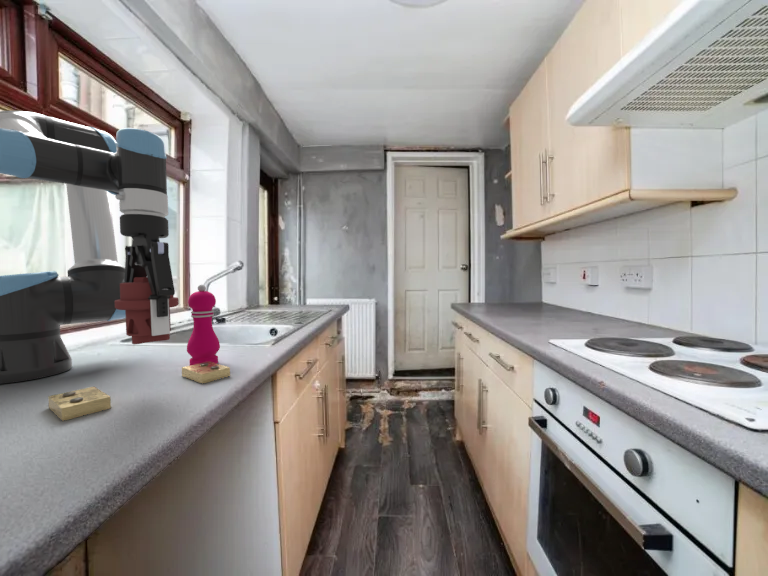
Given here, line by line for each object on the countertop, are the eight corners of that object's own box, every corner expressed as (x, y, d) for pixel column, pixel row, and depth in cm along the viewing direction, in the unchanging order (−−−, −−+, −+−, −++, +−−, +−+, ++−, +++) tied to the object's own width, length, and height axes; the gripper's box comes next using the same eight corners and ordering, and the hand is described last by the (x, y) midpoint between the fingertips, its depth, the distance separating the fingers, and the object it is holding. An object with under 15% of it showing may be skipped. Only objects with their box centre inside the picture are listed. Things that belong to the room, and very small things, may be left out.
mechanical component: (191, 336, 68) (148, 347, 58) (150, 335, 70) (102, 345, 60) (189, 276, 68) (145, 277, 58) (148, 277, 70) (98, 277, 60)
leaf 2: (182, 376, 73) (181, 366, 73) (209, 369, 78) (209, 360, 78) (202, 383, 68) (201, 372, 68) (230, 376, 73) (229, 366, 73)
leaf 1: (48, 407, 56) (48, 394, 56) (94, 397, 61) (93, 384, 61) (62, 421, 51) (61, 406, 51) (110, 408, 56) (110, 394, 56)
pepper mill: (215, 359, 88) (213, 284, 87) (224, 364, 82) (221, 284, 82) (184, 364, 83) (181, 284, 82) (191, 370, 78) (188, 285, 77)
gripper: (100, 219, 67) (105, 329, 68) (145, 204, 54) (150, 341, 54) (144, 224, 73) (148, 324, 74) (193, 211, 60) (197, 334, 61)
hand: (149, 331), depth 64 cm, fingers closed on mechanical component, 10 cm apart
